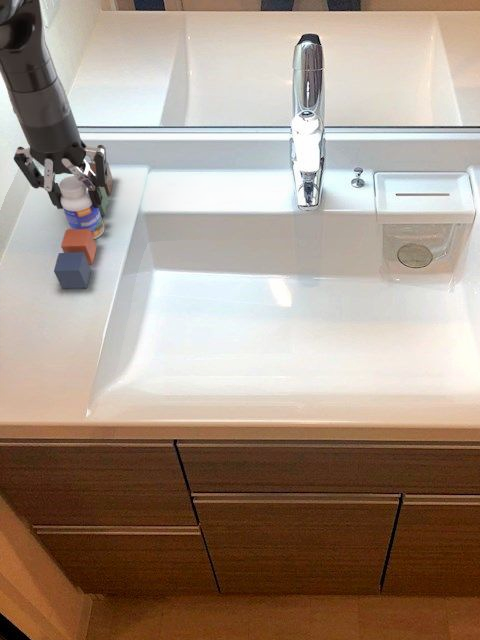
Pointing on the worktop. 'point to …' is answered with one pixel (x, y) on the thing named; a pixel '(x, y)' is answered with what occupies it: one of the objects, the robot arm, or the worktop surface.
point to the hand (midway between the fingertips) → (79, 205)
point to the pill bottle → (80, 207)
